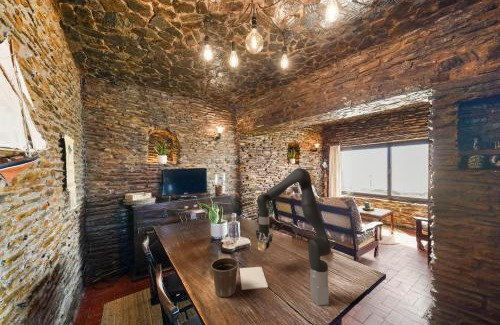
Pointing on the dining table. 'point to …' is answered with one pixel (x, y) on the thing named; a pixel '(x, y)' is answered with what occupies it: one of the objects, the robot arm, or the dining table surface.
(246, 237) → the dining table surface
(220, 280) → the plant pot
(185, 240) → the dining table surface
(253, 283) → the felt mat
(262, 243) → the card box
